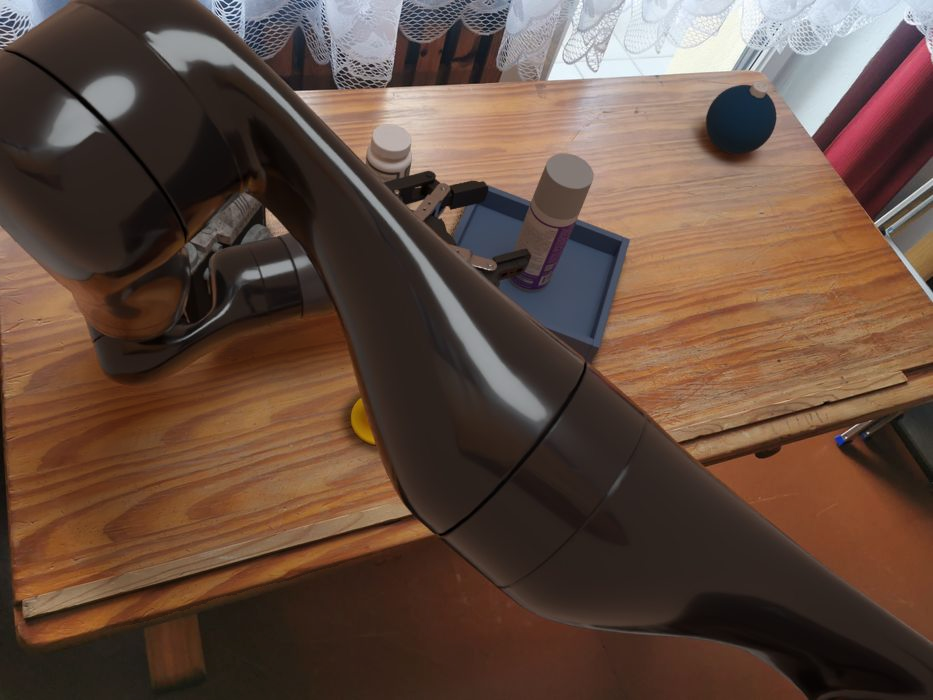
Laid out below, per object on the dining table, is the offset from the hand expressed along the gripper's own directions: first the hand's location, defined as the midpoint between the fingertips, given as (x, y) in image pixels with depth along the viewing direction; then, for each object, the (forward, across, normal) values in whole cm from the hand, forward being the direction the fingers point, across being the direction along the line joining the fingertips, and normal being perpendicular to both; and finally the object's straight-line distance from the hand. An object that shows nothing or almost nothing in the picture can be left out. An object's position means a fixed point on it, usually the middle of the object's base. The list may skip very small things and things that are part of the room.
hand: (506, 223), depth 72 cm
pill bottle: (-4, +16, +11) cm, 20 cm away
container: (+5, 0, +10) cm, 11 cm away
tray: (+6, 0, +11) cm, 12 cm away
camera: (-23, +10, +11) cm, 27 cm away
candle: (-16, -10, +11) cm, 21 cm away
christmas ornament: (+42, +12, +11) cm, 45 cm away
